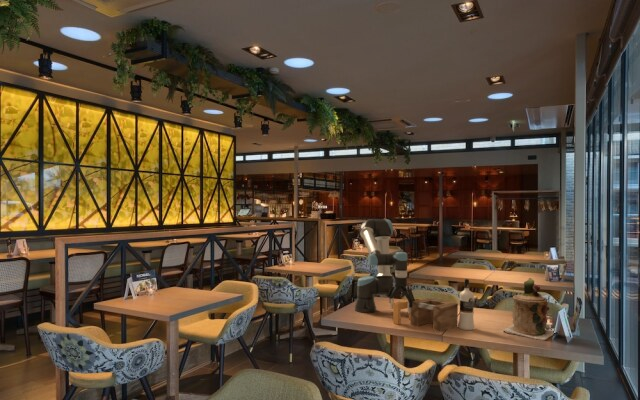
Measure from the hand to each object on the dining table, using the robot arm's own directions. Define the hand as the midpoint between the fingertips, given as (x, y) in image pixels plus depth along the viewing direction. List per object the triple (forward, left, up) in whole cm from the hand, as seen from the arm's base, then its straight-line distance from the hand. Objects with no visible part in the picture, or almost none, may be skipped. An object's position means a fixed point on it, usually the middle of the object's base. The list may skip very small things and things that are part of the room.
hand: (400, 310), depth 291 cm
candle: (-7, +29, -8) cm, 30 cm away
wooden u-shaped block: (0, +5, -8) cm, 9 cm away
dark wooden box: (+17, +12, -8) cm, 22 cm away
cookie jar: (+63, +42, -8) cm, 76 cm away
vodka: (+34, +21, -8) cm, 40 cm away
